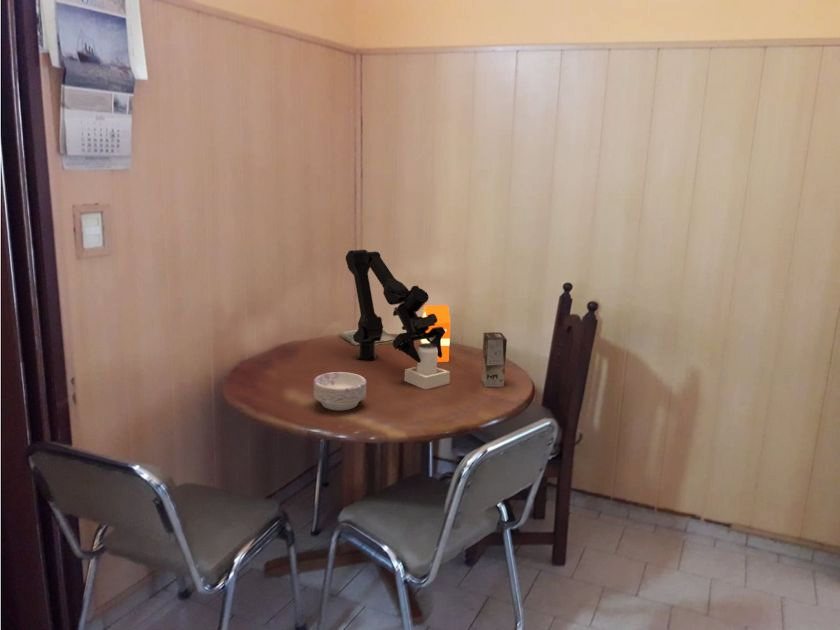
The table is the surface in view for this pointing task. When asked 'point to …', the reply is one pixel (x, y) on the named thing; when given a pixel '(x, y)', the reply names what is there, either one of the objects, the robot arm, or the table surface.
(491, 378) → the coffee box
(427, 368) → the can
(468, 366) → the table surface
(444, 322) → the orange juice
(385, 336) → the dish towel
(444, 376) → the collar
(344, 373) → the paper bowls
